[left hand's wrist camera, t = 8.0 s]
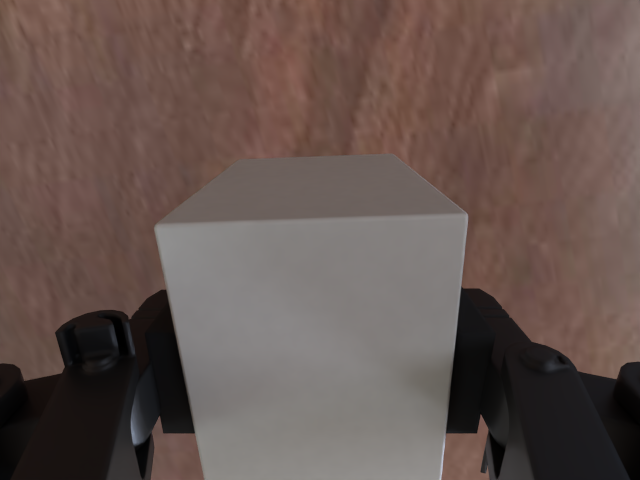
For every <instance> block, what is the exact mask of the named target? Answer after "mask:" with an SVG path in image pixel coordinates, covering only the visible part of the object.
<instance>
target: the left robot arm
mask: <svg viewBox="0 0 640 480" xmlns="http://www.w3.org/2000/svg"><path fill="white" fill-rule="evenodd" d="M55 334H56V337H57V341H58V344H59V348H60V351H61V355H62V358H63V362H64V365H65V368H64V370H63V372H62V373H61V374H57V375H52V376H47V377H42V378H37V379H32V380H27V381H24V379H23V376H22V373H21V370H20V368H18V367H17V366H15V365H13V364H4V363H2V364H0V480H150V479H151V471H152V463H153V455H154V441H153V436H152V429H153V427H154V425H155V423H156V421H157V419H158V417H159V415H160V418H161V423H162V428H163V433H195V430H194V425H193V420H192V415H191V410H190V405H189V400H188V395H187V390H186V385H185V380H184V375H183V370H182V365H181V360H180V355H179V350H178V345H177V340H176V335H175V330H174V325H173V320H172V315H171V310H170V305H169V300H168V295H167V290H160V291H159V292H157V293H155V294H154V295H152V296H150V297H149V298H147V299H146V300H145V302H144V303H143V304H142V305H141V306H140V307H139V310H138V311H136V312H135V313H134V315H133V316H132V317H131V319H128V316H127V315H126V314H125V313H123V312H121V311H116V310H100V311H96V312H91V313H86V314H84V315H81V316H79V317H76V318H73V319H72V320H70V321H68V322H67V323H65V324H63V325H62V326H61V327H60V328H59V329H58V330H57V331H56V332H55ZM480 415H482V417H483V419H484V421H485V423H486V425H487V427H488V429H489V431H488V436H487V441H486V446H485V451H484V456H483V460H482V466H481V472H482V473H486V470H487V466H488V470H489V478H490V480H640V362H631V363H626V364H625V365H623V366H622V367H621V369H620V372H619V375H618V378H617V379H612V378H607V377H602V376H597V375H592V374H587V373H582V372H579V371H577V369H576V367H575V366H574V364H573V363H572V362H571V361H570V359H569V358H567V357H566V356H565V355H563V354H562V353H560V352H559V351H557V350H555V349H552V348H550V347H548V346H546V345H542V344H538V343H534V342H531V340H530V339H529V338H528V337H527V336H526V335H525V333H524V332H523V331H522V330H521V329H520V328H519V326H518V325H517V324H516V323H515V322H514V321H513V319H512V318H509V315H508V314H507V312H506V311H505V310H504V309H502V307H501V305H500V304H499V303H498V302H497V301H496V300H495V298H494V297H492V296H491V295H489V294H487V293H486V292H484V291H482V290H481V289H463V288H462V286H461V292H460V302H459V312H458V321H457V331H456V340H455V350H454V360H453V369H452V379H451V389H450V398H449V408H448V418H447V427H446V433H477V430H478V425H479V420H480Z"/></svg>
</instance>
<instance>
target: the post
mask: <svg viewBox="0 0 640 480" xmlns="http://www.w3.org/2000/svg"><path fill="white" fill-rule="evenodd" d="M467 225H468V215H467V213H466V212H465V211H463V210H462V209H461V208H460V207H458V206H457V205H456V204H455V203H453V202H452V201H451V200H450V199H449V198H447V197H446V196H445V195H444V194H442V193H441V192H440V191H439V190H437V189H436V188H435V187H434V186H432V185H431V184H430V183H429V182H427V181H426V180H425V179H424V178H422V177H421V176H420V175H419V174H417V173H416V172H415V171H414V170H412V169H411V168H410V167H409V166H407V165H406V164H405V163H404V162H402V161H401V160H400V159H399V158H397V157H396V156H395V155H394V154H371V155H344V156H317V157H291V158H264V159H239V160H237V161H236V162H235V163H234V164H232V165H231V166H230V167H228V168H227V169H226V170H224V171H223V172H222V173H221V174H219V175H218V176H217V177H215V178H214V179H213V180H212V181H210V182H209V183H208V184H206V185H205V186H204V187H203V188H201V189H200V190H199V191H197V192H196V193H195V194H194V195H192V196H191V197H190V198H188V199H187V200H186V201H185V202H183V203H182V204H181V205H179V206H178V207H177V208H175V209H174V210H173V211H172V212H170V213H169V214H168V215H166V216H165V217H164V218H163V219H161V220H160V221H159V222H157V223H156V224H155V227H154V230H155V235H156V240H157V245H158V250H159V255H160V260H161V265H162V270H163V275H164V280H165V285H166V290H167V295H168V300H169V305H170V310H171V315H172V320H173V325H174V330H175V335H176V340H177V345H178V350H179V355H180V360H181V365H182V370H183V375H184V380H185V385H186V390H187V395H188V400H189V405H190V410H191V415H192V420H193V425H194V430H195V435H196V440H197V445H198V450H199V455H200V460H201V465H202V470H203V475H204V480H441V476H442V466H443V456H444V447H445V437H446V427H447V418H448V408H449V398H450V389H451V379H452V369H453V360H454V350H455V340H456V331H457V321H458V312H459V302H460V292H461V283H462V273H463V263H464V254H465V244H466V234H467Z"/></svg>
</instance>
